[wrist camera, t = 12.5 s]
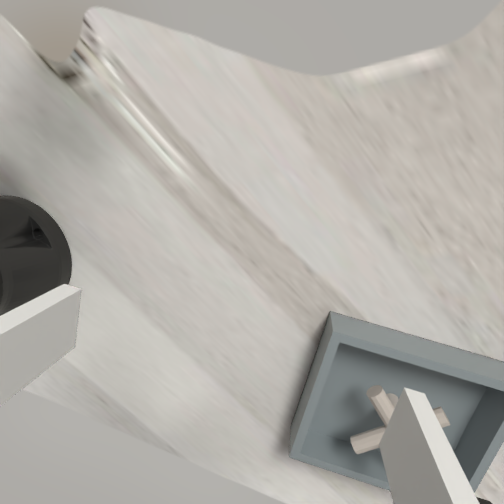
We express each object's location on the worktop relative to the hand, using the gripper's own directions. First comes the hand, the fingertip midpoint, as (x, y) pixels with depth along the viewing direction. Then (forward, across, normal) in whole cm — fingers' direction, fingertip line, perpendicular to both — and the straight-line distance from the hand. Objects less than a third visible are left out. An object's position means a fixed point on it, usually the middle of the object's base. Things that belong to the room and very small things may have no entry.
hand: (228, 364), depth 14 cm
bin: (+27, +18, -16) cm, 36 cm away
